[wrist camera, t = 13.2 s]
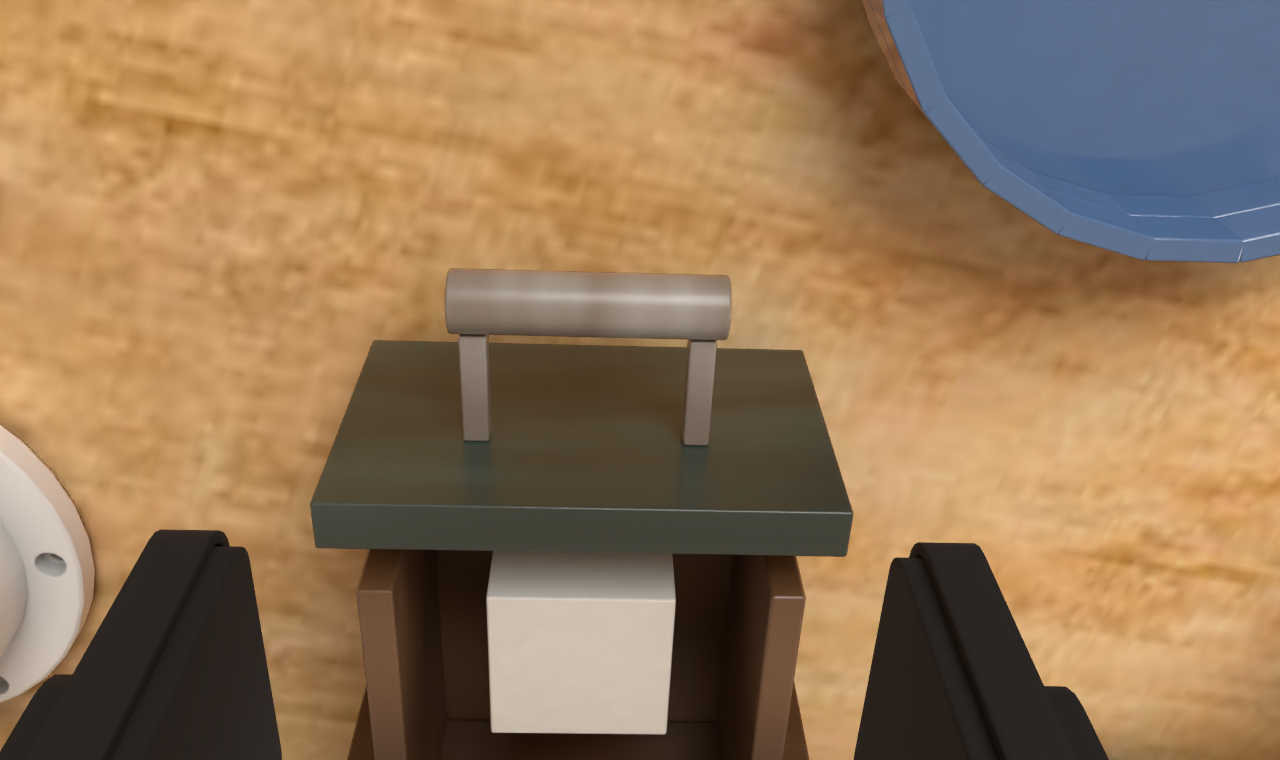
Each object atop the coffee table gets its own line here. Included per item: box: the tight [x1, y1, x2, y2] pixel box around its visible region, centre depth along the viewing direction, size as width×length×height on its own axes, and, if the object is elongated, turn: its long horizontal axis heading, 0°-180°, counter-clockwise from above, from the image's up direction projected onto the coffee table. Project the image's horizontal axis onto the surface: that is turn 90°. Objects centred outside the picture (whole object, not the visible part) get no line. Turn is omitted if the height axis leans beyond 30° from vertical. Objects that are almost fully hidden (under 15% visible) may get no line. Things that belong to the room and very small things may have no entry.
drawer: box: [310, 268, 853, 760], centre depth 29 cm, size 18×11×7 cm, turn 178°
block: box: [486, 551, 676, 734], centre depth 30 cm, size 4×4×5 cm
